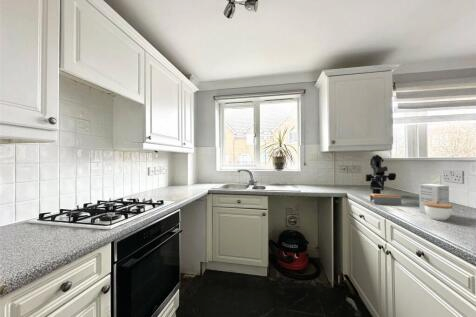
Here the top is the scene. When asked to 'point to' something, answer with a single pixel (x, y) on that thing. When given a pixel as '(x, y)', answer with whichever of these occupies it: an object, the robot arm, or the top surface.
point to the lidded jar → (438, 210)
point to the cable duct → (385, 200)
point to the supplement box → (433, 194)
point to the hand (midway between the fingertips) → (383, 186)
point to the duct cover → (386, 195)
